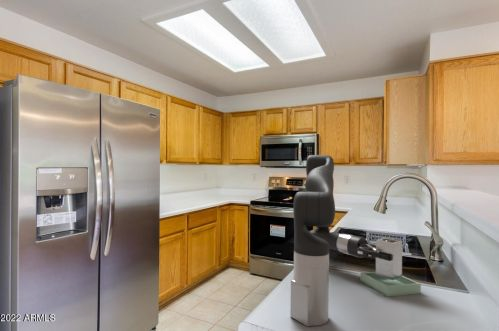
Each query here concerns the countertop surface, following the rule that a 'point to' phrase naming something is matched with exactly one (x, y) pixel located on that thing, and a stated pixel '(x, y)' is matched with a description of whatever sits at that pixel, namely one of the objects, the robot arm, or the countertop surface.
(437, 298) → the countertop surface
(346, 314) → the countertop surface
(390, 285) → the bin
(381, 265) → the canister
